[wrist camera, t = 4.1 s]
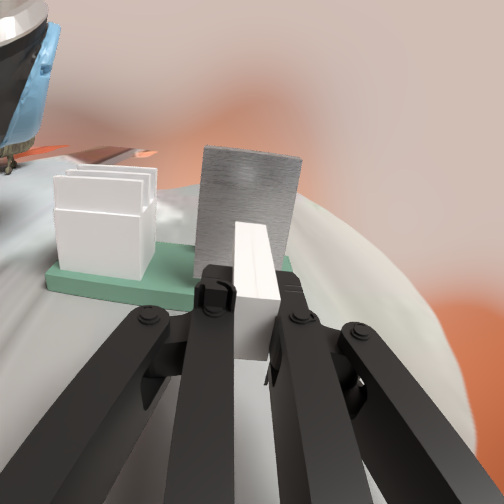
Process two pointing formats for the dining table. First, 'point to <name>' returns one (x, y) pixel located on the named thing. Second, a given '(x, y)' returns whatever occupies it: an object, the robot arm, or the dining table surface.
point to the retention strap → (243, 201)
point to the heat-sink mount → (118, 240)
